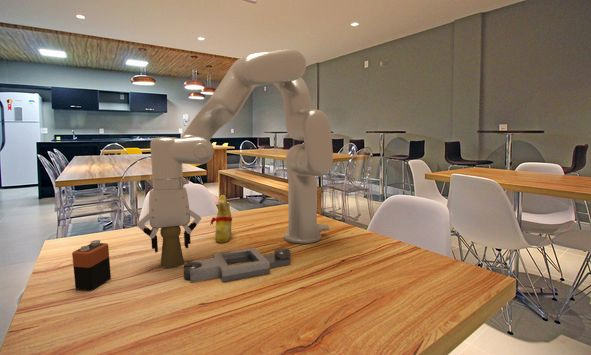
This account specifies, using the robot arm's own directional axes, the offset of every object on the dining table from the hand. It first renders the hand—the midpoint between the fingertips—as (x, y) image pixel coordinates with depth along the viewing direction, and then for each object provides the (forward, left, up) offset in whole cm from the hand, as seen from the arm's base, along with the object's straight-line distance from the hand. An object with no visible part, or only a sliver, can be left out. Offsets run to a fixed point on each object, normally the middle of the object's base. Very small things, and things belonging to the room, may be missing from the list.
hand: (171, 248), depth 91 cm
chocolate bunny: (-17, -16, -5) cm, 24 cm away
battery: (+18, +5, -5) cm, 19 cm away
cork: (0, 0, -5) cm, 5 cm away
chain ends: (-16, +11, -4) cm, 20 cm away
